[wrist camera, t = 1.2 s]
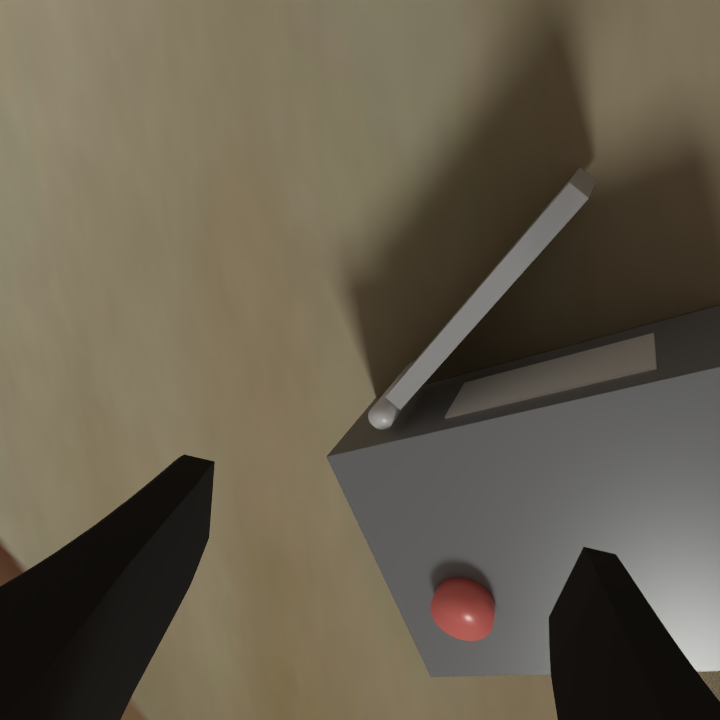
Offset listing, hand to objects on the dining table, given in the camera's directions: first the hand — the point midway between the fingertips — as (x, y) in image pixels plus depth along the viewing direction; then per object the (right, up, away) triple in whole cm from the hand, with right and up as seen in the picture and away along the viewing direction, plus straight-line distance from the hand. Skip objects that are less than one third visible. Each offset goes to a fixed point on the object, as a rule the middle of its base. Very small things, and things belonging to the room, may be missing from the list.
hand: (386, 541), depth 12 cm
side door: (+4, +6, +8) cm, 11 cm away
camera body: (+7, 0, +10) cm, 12 cm away
